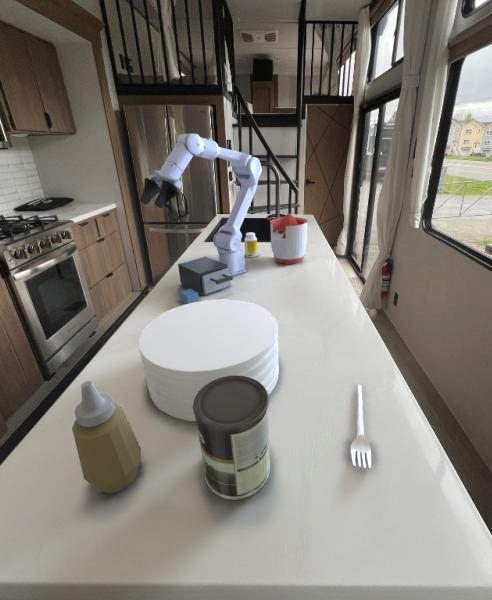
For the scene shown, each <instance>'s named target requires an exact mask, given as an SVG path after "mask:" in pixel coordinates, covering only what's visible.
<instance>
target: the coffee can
mask: <svg viewBox="0 0 492 600" xmlns="http://www.w3.org/2000/svg"><path fill="white" fill-rule="evenodd" d="M269 399H270V398H269V395H268V393H267V390H266V389H265V387H264V386H263V385H262V384H261V383H260V382H258V381H256V380H255V379H252V378H249V377H246V376H238V375H234V376H226V377H221V378H218V379H215V380H213V381H211V382H210V383H208V384H207V385H205V386H204V387H203V388H202V389H201V390H200V391H199V392H198V393H197V395H196V397H195V399H194V402H193V411H194V415H195V418H196V421H195V423H196V428H197V429H196V430H197V435H198V440H199V446H200V453H201V457H202V464H203V469H204V478H205V482H206V484H207V486H208V488H209V489H210V491H212V493H213V494H215V495H217V496H218V497H220V498H222V499H224V500H225V499H226V500H233V501H236V500H244V499H246V498H249V497H251V496H253V495H255V494H256V493H258V492H259V491H260V490H261V489H262V488H263V487H264V486H265V484H266V482H267V481H268V479H269V476H270V474H271V473H270V472H271V459H270V433H269V431H270V430H269V401H270V400H269Z"/></svg>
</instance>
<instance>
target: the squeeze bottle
mask: <svg viewBox="0 0 492 600" xmlns="http://www.w3.org/2000/svg"><path fill="white" fill-rule="evenodd" d="M80 389H81V401H80V402H79V403H78V404H77V406H76V407H75V409H74V416H75V418H76V419H75V420H74V422H73V424H72V427H71V429H72V434H73V438H74V442H75V446H76V447H75V448H76V451H77V455H78V459H79V463H80V468H81V472H82V476H83V480H84V481H86V482H87V483H88V484H90V485H91V486H92V487H94V488H96V489H97V490H98V491H100V492H101V493H103V494H108V495H109V494H111V495H112V494H116V493H119V492H121V491H123V490H124V489H127V488H128V487H129V486H130V485H131V484H132V483H133V482H134V481H135V479H136V477H137V476H138V473H139V467H140V462H141V455H142V448H141V446H140V443H139V441H138V439H137V437H136V434H135V433H134V431H133V428H132V426H131V424H130V421H129V420H128V417H127V415H126V413H125V411H124V409H123V406H121V405H119V404H117V403H114V399H113V398H112V396H110V395H109V394H106V393H100V392H99V391H98V389H97V388H96V386H95V385H94V384H93V382H92V381H91V380H87V381H84V382H83V383H81V387H80Z"/></svg>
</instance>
